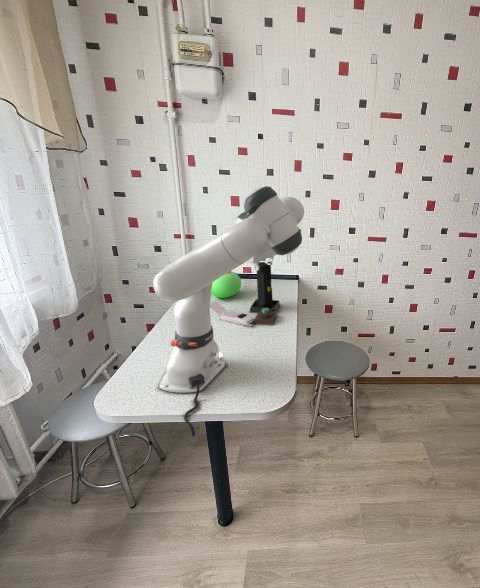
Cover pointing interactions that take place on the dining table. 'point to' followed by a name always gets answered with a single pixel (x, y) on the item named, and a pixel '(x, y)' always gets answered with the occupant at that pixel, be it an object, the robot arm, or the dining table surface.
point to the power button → (265, 310)
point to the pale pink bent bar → (231, 315)
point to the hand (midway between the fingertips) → (264, 267)
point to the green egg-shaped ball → (226, 285)
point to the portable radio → (264, 286)
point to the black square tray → (256, 309)
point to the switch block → (265, 318)
